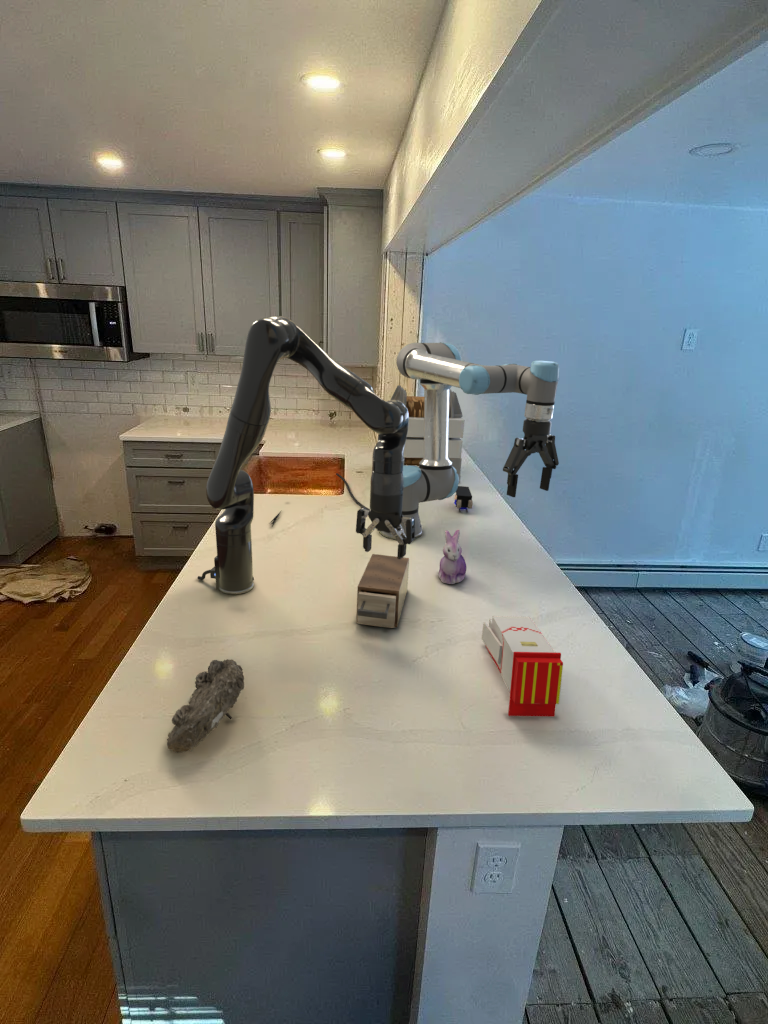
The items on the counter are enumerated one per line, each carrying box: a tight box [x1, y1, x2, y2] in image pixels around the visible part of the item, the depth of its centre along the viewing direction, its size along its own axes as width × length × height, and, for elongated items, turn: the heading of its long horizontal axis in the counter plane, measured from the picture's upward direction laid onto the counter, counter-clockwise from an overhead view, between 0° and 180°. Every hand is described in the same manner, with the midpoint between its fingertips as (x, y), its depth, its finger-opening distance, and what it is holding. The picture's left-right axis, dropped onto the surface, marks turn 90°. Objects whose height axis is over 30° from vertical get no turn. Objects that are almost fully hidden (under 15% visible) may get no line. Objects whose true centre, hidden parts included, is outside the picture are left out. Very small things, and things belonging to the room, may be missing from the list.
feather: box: [268, 510, 282, 527], centre depth 212 cm, size 2×28×2 cm
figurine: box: [438, 528, 467, 585], centre depth 166 cm, size 9×10×15 cm
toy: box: [481, 615, 564, 718], centre depth 123 cm, size 12×13×30 cm
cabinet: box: [356, 553, 410, 629], centre depth 149 cm, size 20×10×10 cm, turn 171°
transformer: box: [390, 384, 465, 483], centre depth 268 cm, size 34×33×41 cm
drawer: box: [356, 590, 396, 629], centre depth 144 cm, size 24×9×8 cm, turn 171°
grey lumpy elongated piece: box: [166, 658, 245, 754], centre depth 106 cm, size 22×10×15 cm
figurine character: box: [453, 485, 474, 513], centre depth 227 cm, size 7×8×15 cm
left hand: (384, 554), depth 135 cm, fingers open, 8 cm apart
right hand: (527, 492), depth 163 cm, fingers open, 13 cm apart
